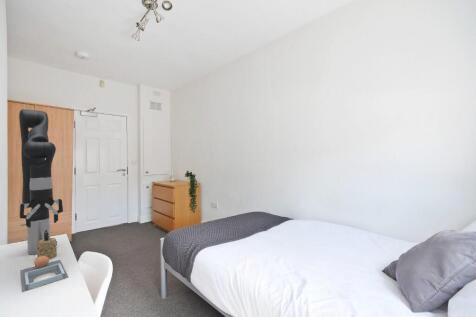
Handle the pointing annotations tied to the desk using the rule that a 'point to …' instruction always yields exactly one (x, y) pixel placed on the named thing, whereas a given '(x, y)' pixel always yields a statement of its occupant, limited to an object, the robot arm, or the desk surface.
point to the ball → (41, 262)
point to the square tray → (44, 276)
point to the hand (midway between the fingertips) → (42, 224)
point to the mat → (39, 274)
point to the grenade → (47, 246)
